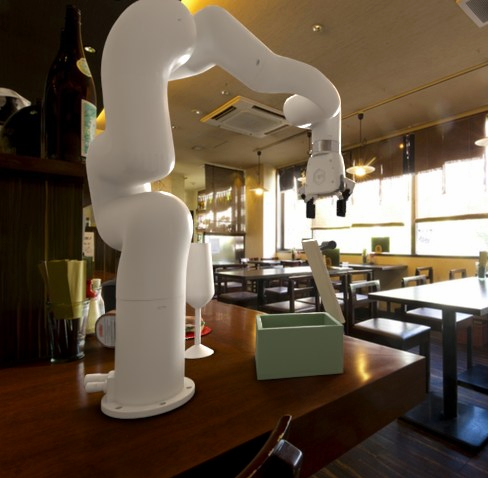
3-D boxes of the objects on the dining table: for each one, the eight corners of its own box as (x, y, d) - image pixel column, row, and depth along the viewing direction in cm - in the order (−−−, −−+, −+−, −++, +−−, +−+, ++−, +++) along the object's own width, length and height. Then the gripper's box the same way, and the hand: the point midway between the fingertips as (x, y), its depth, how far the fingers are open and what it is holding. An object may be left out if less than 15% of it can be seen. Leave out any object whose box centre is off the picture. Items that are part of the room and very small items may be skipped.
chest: (257, 380, 57) (258, 329, 57) (255, 356, 70) (255, 314, 70) (343, 373, 61) (343, 325, 61) (326, 351, 73) (326, 312, 73)
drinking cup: (95, 340, 80) (96, 258, 81) (106, 332, 88) (107, 257, 88) (129, 338, 82) (131, 258, 83) (138, 330, 90) (139, 257, 90)
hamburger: (158, 328, 92) (159, 307, 92) (211, 325, 96) (211, 304, 97) (148, 342, 79) (149, 317, 79) (210, 338, 83) (210, 314, 83)
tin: (162, 347, 75) (163, 310, 76) (154, 351, 72) (155, 313, 72) (101, 344, 77) (102, 308, 77) (91, 348, 74) (92, 311, 74)
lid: (312, 240, 60) (337, 231, 61) (301, 241, 72) (321, 234, 73) (341, 323, 61) (365, 313, 62) (325, 310, 73) (345, 302, 74)
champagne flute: (173, 356, 69) (175, 242, 70) (194, 347, 76) (196, 243, 76) (200, 359, 67) (202, 242, 68) (219, 350, 74) (221, 243, 74)
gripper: (291, 153, 87) (290, 218, 87) (346, 141, 77) (345, 214, 76) (309, 160, 93) (308, 220, 93) (362, 149, 83) (361, 217, 82)
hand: (325, 217), depth 85 cm, fingers open, 9 cm apart
